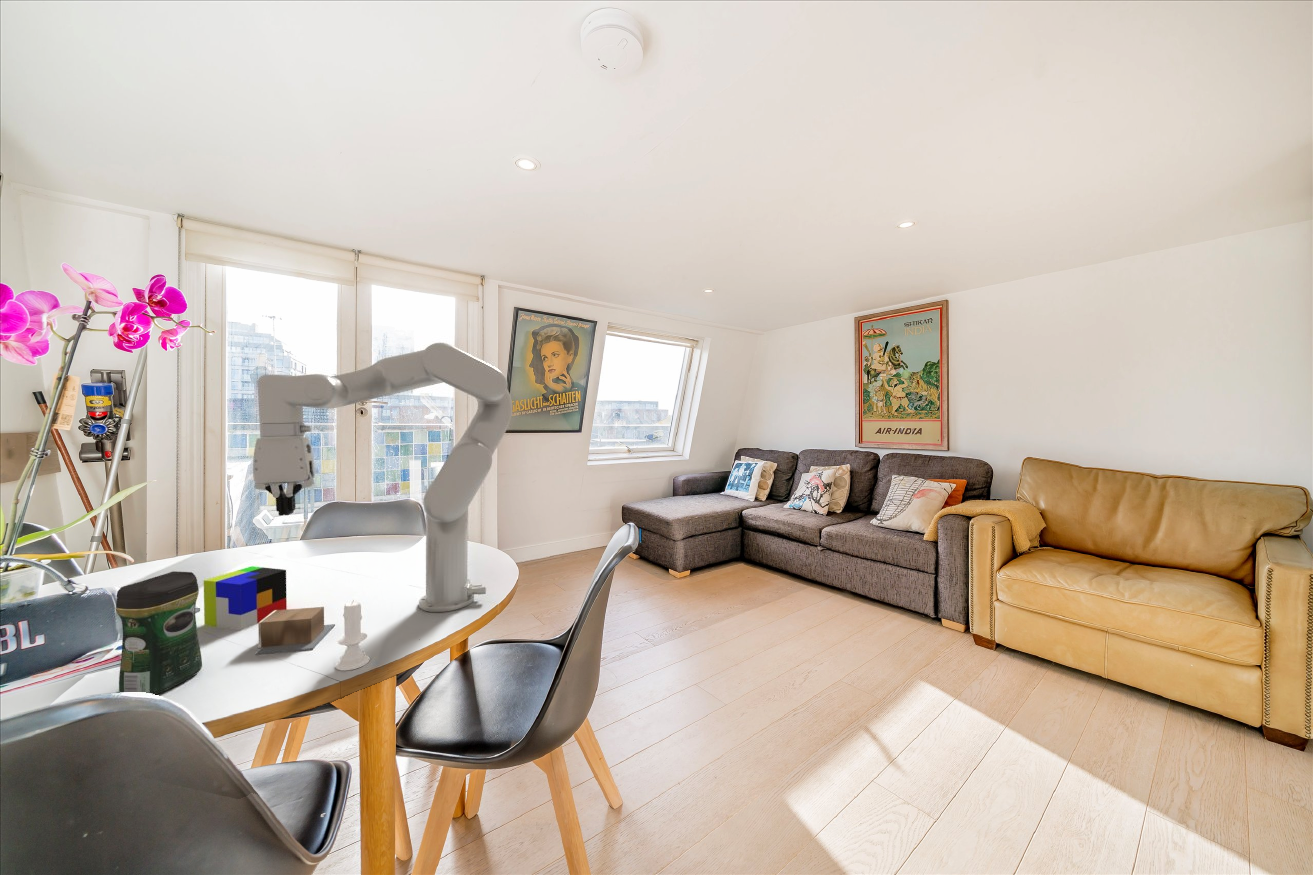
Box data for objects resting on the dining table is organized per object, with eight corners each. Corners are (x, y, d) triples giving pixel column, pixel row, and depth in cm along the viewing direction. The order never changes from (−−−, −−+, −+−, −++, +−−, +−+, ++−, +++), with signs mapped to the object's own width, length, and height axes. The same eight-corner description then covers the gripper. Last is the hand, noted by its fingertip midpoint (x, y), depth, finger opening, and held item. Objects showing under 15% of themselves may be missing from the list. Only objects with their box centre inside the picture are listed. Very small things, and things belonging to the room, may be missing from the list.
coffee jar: (170, 667, 85) (168, 566, 85) (211, 669, 85) (209, 568, 84) (105, 698, 76) (101, 585, 75) (151, 701, 75) (148, 587, 74)
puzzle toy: (241, 630, 100) (240, 584, 100) (204, 625, 102) (203, 580, 102) (286, 611, 110) (286, 569, 110) (252, 607, 112) (251, 566, 112)
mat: (335, 625, 103) (335, 624, 103) (312, 649, 93) (312, 648, 93) (284, 629, 101) (284, 628, 101) (255, 654, 90) (255, 653, 90)
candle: (346, 656, 90) (346, 595, 90) (375, 656, 91) (374, 595, 90) (328, 671, 85) (328, 606, 84) (359, 671, 85) (358, 606, 85)
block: (274, 633, 98) (324, 629, 100) (258, 647, 92) (311, 642, 95) (274, 610, 98) (323, 606, 100) (258, 622, 92) (311, 618, 94)
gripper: (328, 430, 108) (331, 508, 109) (250, 431, 104) (254, 513, 105) (315, 431, 101) (319, 515, 102) (230, 432, 97) (235, 520, 98)
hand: (286, 514), depth 103 cm, fingers closed
